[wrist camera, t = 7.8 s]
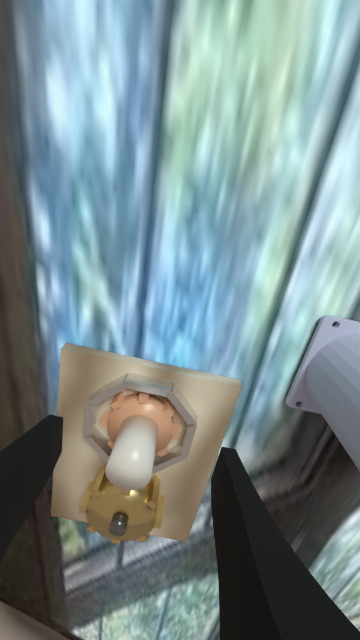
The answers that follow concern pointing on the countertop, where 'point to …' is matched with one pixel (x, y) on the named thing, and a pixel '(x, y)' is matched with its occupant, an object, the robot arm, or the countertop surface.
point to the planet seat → (148, 386)
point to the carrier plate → (177, 480)
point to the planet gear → (137, 437)
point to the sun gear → (122, 509)
